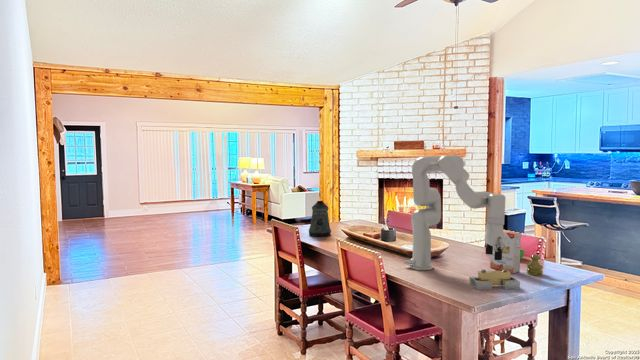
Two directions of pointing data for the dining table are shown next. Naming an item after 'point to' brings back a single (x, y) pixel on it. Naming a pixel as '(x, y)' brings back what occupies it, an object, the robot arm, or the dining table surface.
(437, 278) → the dining table surface
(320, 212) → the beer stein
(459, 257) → the dining table surface
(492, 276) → the link
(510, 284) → the chain end
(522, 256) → the fruit basket
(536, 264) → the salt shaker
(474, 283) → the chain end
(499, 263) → the cracker box
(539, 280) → the dining table surface
